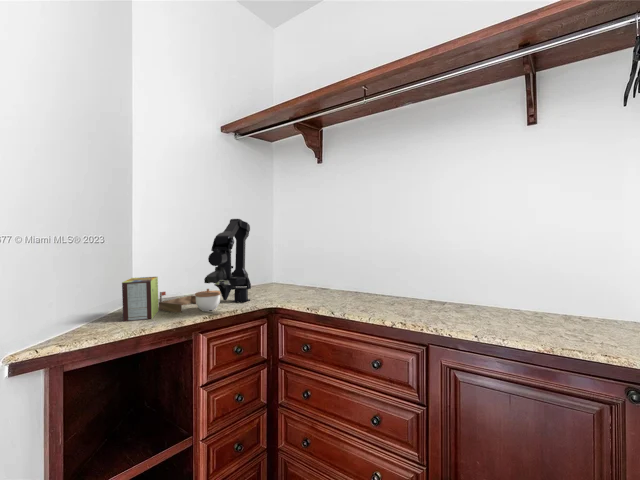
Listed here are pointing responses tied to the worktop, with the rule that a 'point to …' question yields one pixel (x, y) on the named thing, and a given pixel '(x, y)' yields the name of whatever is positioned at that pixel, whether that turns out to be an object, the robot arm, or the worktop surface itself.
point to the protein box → (140, 298)
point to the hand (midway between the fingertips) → (225, 300)
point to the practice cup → (175, 303)
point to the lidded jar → (207, 300)
